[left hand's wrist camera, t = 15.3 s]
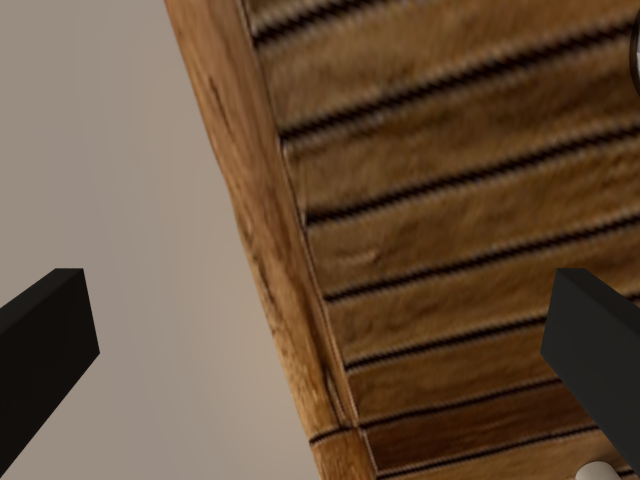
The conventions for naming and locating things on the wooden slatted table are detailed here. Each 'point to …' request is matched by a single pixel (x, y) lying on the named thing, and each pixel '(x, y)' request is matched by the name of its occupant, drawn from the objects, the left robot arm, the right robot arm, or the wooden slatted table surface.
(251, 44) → the wooden slatted table surface
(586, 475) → the can
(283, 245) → the wooden slatted table surface
